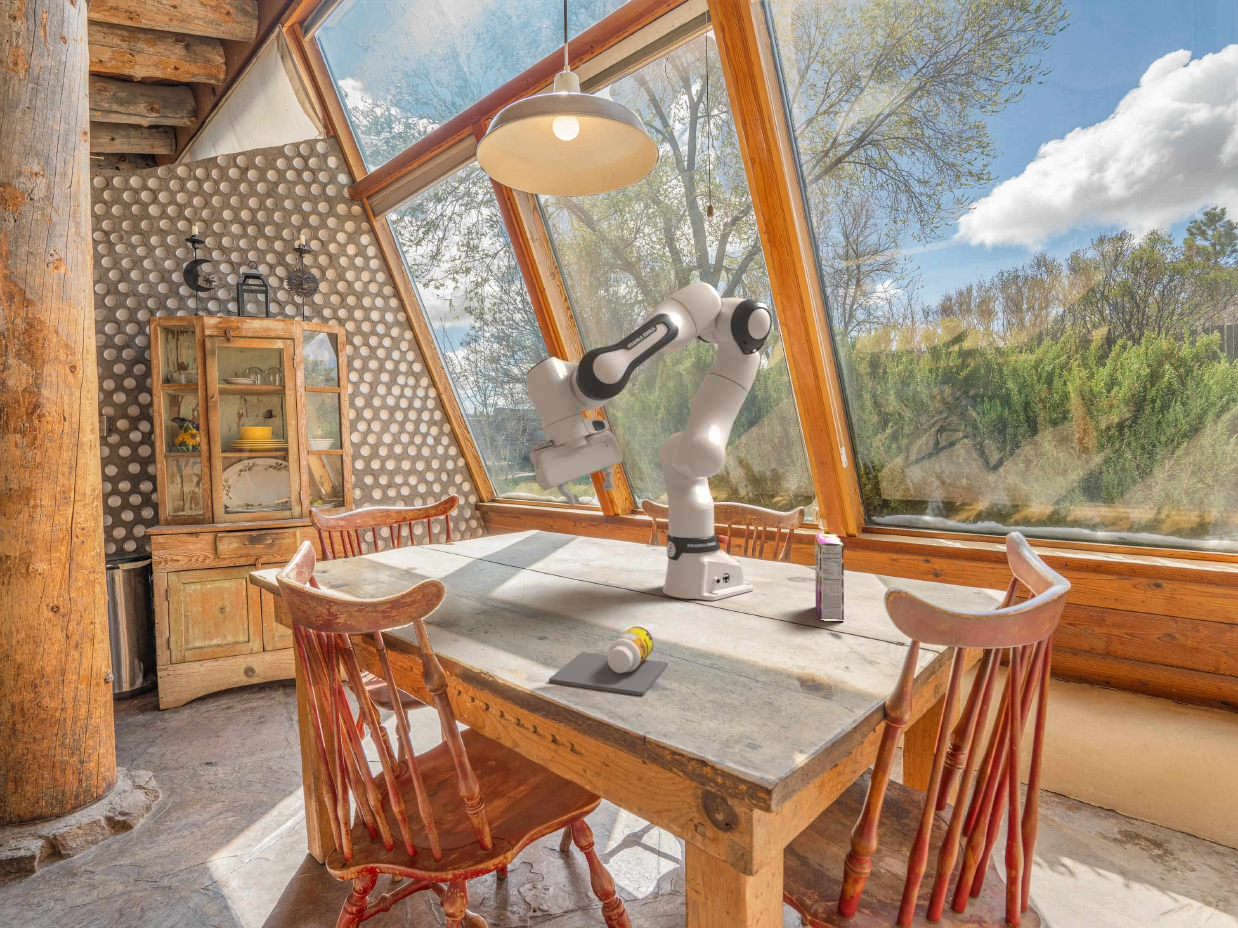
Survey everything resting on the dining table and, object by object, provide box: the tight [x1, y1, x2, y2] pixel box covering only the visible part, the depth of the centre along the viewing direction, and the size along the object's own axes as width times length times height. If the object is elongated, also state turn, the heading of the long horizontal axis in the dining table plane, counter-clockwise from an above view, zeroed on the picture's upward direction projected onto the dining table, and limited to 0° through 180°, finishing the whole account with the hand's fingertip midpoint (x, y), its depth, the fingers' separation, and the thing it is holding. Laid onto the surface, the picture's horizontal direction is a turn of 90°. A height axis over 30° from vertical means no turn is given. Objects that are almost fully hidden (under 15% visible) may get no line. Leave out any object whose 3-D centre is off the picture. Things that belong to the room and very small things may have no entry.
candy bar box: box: [814, 533, 845, 621], centre depth 138 cm, size 11×5×16 cm, turn 168°
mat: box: [548, 651, 669, 697], centre depth 107 cm, size 13×16×1 cm
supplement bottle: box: [607, 625, 655, 673], centre depth 109 cm, size 6×6×10 cm
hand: (592, 496), depth 134 cm, fingers open, 8 cm apart
